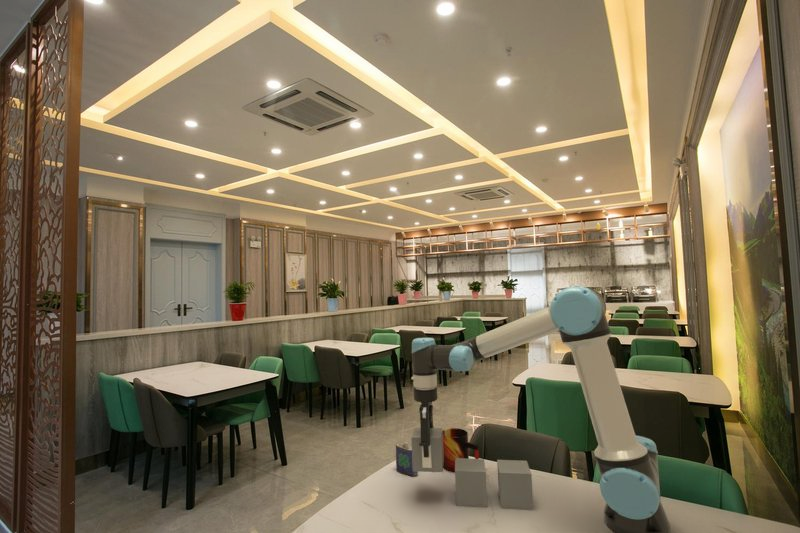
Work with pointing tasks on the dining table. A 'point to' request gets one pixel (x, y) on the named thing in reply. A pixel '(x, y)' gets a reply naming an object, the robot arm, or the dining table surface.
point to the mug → (456, 447)
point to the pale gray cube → (470, 482)
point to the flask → (404, 460)
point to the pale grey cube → (515, 484)
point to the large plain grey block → (436, 450)
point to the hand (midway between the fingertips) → (428, 460)
